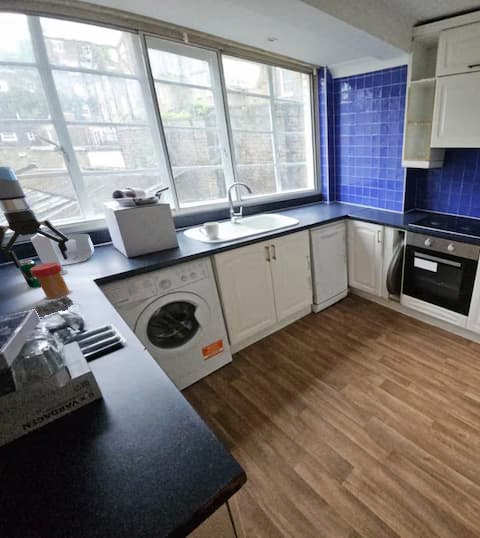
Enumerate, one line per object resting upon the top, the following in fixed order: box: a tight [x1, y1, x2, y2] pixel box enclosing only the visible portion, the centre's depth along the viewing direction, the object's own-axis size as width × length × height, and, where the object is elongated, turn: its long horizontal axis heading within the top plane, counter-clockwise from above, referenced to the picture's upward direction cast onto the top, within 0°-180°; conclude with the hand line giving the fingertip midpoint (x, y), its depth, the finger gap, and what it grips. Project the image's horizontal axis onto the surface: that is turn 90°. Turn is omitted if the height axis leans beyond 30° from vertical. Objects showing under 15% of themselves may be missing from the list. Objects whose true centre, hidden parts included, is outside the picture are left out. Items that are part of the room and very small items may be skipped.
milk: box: [30, 233, 66, 276], centre depth 141 cm, size 6×6×22 cm
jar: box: [37, 272, 71, 300], centre depth 121 cm, size 7×7×12 cm
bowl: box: [50, 233, 95, 266], centre depth 162 cm, size 20×19×12 cm
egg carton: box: [30, 295, 74, 317], centre depth 110 cm, size 11×8×4 cm
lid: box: [30, 263, 62, 277], centre depth 119 cm, size 8×8×3 cm
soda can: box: [18, 259, 41, 289], centre depth 130 cm, size 5×5×12 cm
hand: (43, 262), depth 118 cm, fingers open, 13 cm apart
